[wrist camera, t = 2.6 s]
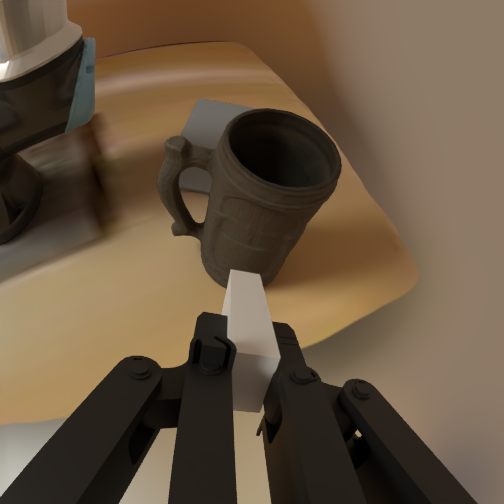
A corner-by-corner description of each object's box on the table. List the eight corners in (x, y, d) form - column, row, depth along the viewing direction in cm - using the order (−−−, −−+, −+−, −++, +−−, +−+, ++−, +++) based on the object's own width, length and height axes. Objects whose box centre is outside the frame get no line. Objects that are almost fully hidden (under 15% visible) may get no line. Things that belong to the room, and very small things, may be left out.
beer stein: (279, 219, 40) (325, 108, 23) (291, 290, 36) (364, 199, 18) (172, 222, 38) (154, 101, 20) (171, 296, 33) (131, 199, 16)
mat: (304, 214, 42) (305, 212, 41) (161, 186, 39) (160, 183, 38) (302, 123, 53) (303, 121, 52) (198, 100, 50) (198, 98, 49)
